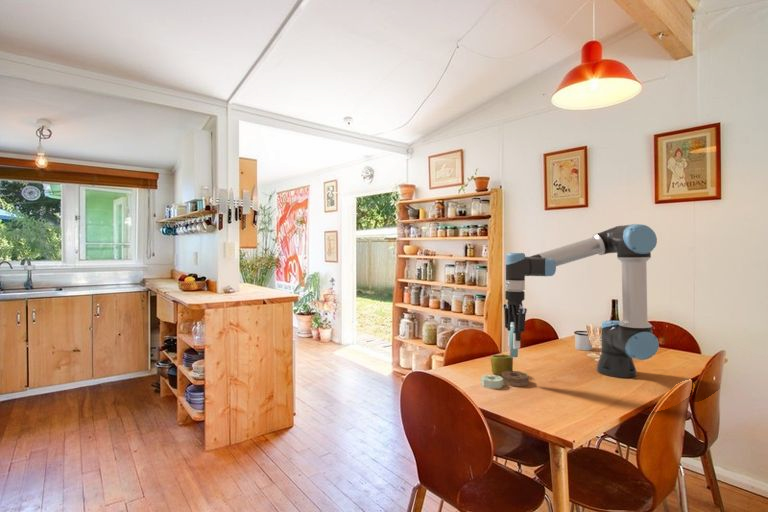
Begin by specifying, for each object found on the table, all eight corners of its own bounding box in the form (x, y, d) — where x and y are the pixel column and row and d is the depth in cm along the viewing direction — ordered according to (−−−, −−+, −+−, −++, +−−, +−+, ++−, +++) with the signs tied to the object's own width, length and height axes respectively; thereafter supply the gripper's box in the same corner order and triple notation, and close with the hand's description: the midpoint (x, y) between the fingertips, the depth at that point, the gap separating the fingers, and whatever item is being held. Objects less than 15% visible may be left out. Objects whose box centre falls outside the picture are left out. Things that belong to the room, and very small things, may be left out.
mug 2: (587, 352, 214) (587, 335, 214) (570, 348, 222) (570, 332, 222) (598, 348, 221) (599, 332, 221) (581, 345, 229) (582, 329, 229)
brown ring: (526, 379, 170) (526, 371, 170) (528, 387, 160) (528, 379, 160) (501, 377, 173) (501, 370, 173) (502, 385, 163) (502, 377, 163)
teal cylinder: (517, 355, 167) (518, 321, 167) (518, 357, 164) (518, 323, 164) (509, 355, 168) (510, 321, 168) (510, 357, 165) (510, 322, 165)
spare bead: (497, 381, 168) (497, 374, 167) (505, 388, 160) (505, 380, 160) (478, 382, 167) (478, 375, 166) (486, 389, 159) (486, 381, 159)
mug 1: (518, 374, 170) (510, 351, 173) (494, 380, 172) (487, 357, 175) (517, 371, 182) (509, 349, 184) (494, 377, 184) (487, 355, 186)
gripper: (496, 288, 172) (495, 343, 173) (518, 292, 157) (517, 352, 157) (512, 288, 174) (511, 342, 175) (534, 292, 159) (534, 351, 159)
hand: (514, 347), depth 166 cm, fingers closed on teal cylinder, 3 cm apart
